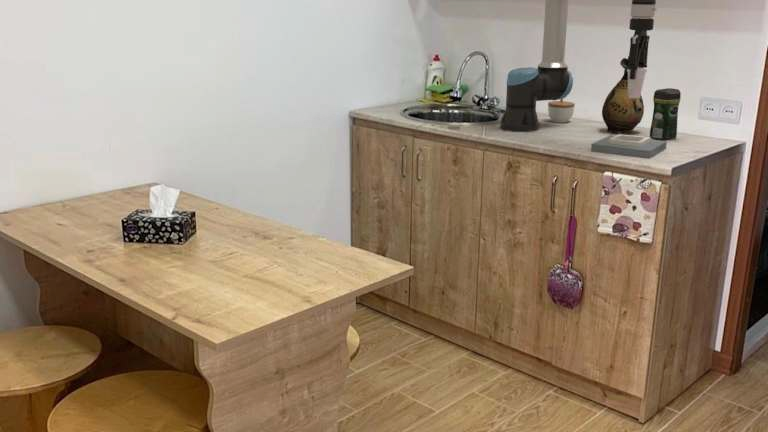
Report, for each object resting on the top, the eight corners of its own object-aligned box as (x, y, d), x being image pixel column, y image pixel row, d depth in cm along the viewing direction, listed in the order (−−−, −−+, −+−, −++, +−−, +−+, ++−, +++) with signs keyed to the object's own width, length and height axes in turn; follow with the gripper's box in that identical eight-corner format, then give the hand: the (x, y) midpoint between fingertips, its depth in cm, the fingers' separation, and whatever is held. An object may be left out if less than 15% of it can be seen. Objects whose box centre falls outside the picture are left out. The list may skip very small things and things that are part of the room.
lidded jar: (547, 118, 328) (549, 96, 325) (573, 120, 325) (575, 97, 322) (546, 123, 318) (547, 100, 315) (572, 124, 315) (574, 101, 312)
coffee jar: (662, 135, 294) (667, 86, 288) (679, 138, 287) (685, 88, 282) (645, 137, 289) (650, 88, 283) (662, 141, 282) (668, 90, 277)
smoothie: (621, 96, 265) (625, 54, 261) (639, 96, 266) (643, 54, 262) (628, 99, 259) (632, 56, 255) (647, 98, 260) (651, 56, 256)
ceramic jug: (635, 137, 290) (644, 56, 281) (595, 132, 298) (602, 53, 289) (647, 130, 304) (655, 52, 295) (608, 126, 312) (615, 50, 303)
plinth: (590, 150, 265) (591, 139, 264) (609, 141, 281) (610, 130, 280) (649, 158, 254) (651, 146, 253) (665, 148, 270) (667, 137, 269)
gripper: (645, 19, 245) (637, 91, 252) (661, 17, 260) (654, 85, 267) (621, 18, 249) (615, 90, 256) (639, 16, 264) (632, 84, 271)
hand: (635, 87), depth 262 cm, fingers closed on smoothie, 6 cm apart
